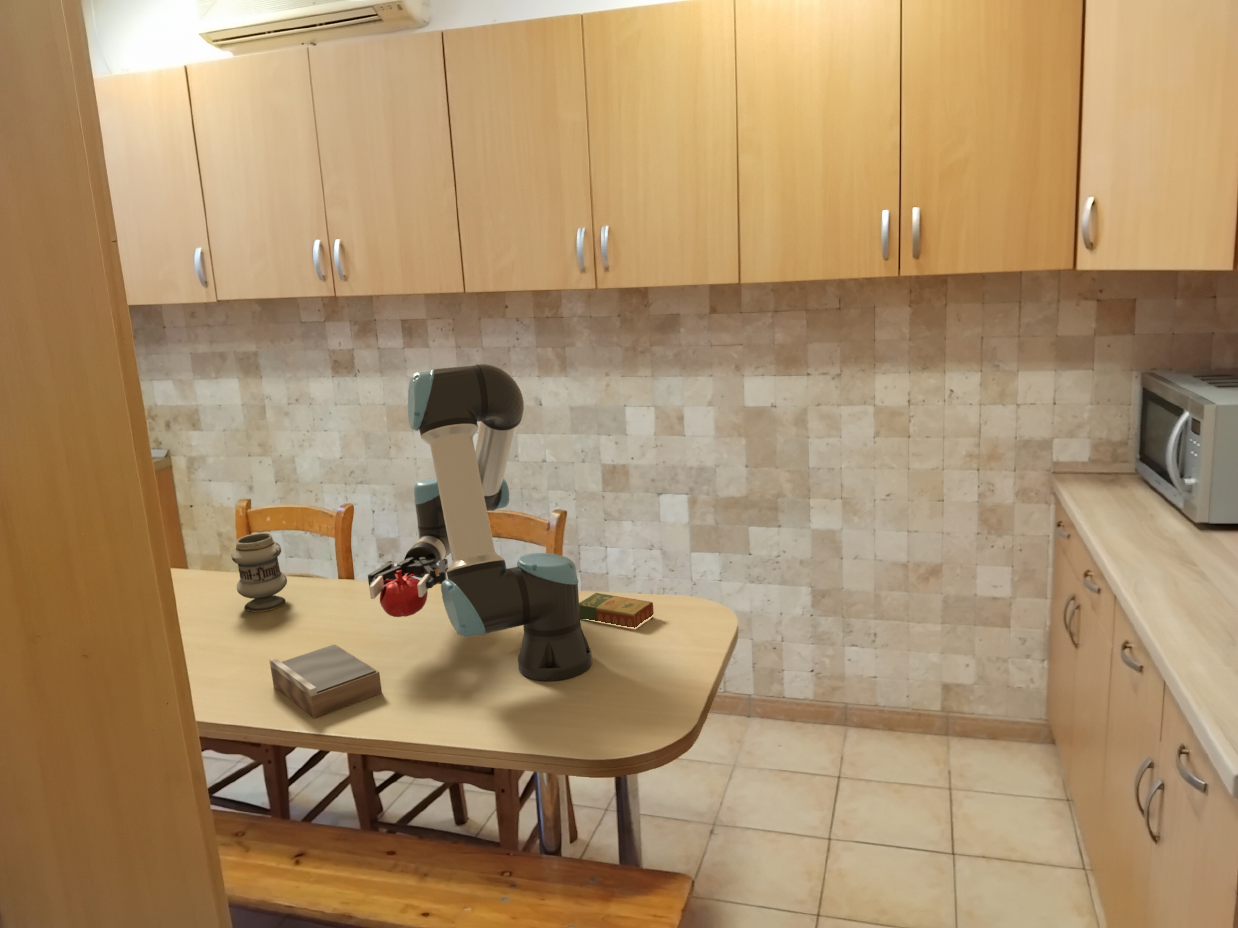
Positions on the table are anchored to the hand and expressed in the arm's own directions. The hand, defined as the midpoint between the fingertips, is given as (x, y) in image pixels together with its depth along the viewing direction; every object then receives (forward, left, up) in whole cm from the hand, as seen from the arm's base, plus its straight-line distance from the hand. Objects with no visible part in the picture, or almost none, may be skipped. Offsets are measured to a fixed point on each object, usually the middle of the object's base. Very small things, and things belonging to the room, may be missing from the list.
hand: (395, 591), depth 194 cm
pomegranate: (+3, -3, -6) cm, 8 cm away
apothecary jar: (+62, +6, -17) cm, 65 cm away
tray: (+3, +16, -17) cm, 23 cm away
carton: (-13, -47, -18) cm, 52 cm away
